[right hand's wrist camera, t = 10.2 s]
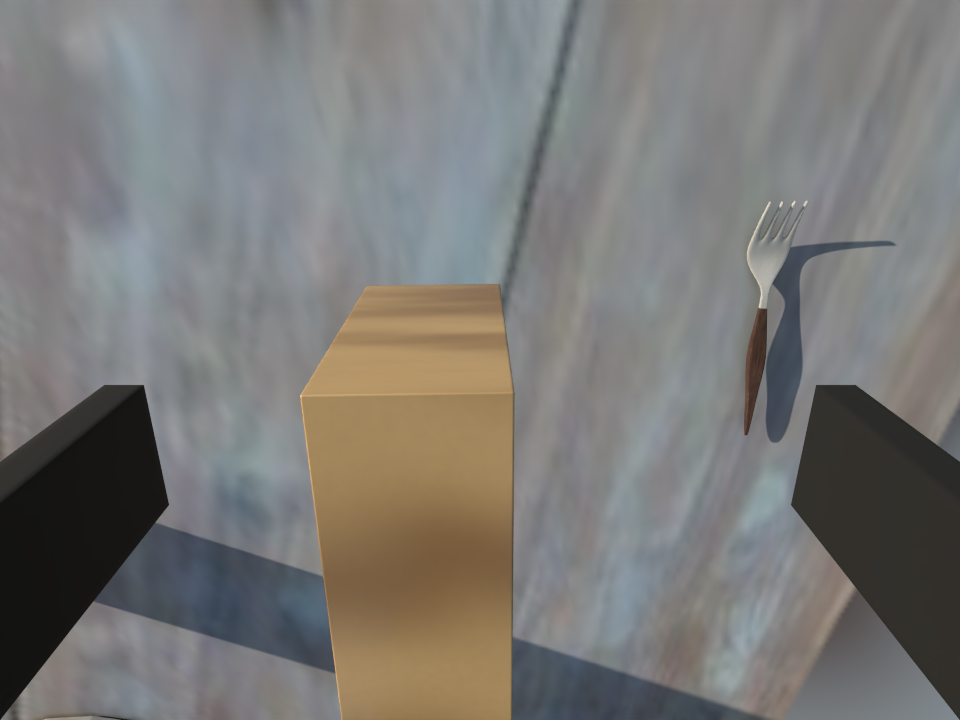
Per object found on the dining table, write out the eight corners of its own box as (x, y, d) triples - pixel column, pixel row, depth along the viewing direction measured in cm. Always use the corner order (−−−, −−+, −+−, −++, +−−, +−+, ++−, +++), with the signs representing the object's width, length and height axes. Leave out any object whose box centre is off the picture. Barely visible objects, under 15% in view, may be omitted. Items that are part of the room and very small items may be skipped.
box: (366, 285, 28) (299, 395, 17) (499, 283, 28) (514, 392, 17) (401, 721, 38) (372, 963, 27) (500, 720, 38) (510, 961, 27)
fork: (723, 432, 44) (734, 446, 43) (752, 197, 39) (766, 201, 37) (761, 430, 44) (773, 445, 43) (796, 196, 39) (812, 200, 37)
